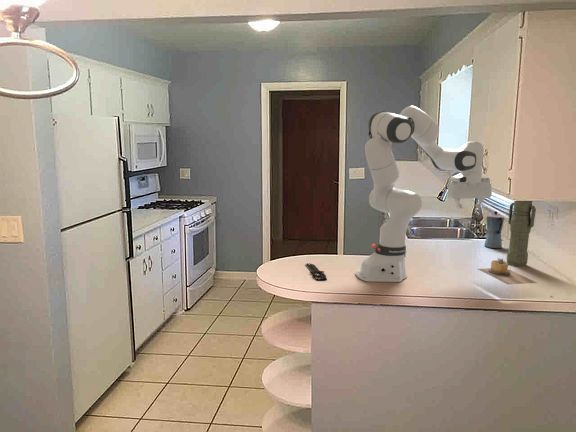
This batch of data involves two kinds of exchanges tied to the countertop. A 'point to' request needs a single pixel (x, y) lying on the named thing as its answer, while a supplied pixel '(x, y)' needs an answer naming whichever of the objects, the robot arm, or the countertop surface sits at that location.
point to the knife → (317, 272)
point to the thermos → (520, 232)
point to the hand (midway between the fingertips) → (468, 208)
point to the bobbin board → (507, 276)
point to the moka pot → (494, 231)
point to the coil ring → (499, 267)
